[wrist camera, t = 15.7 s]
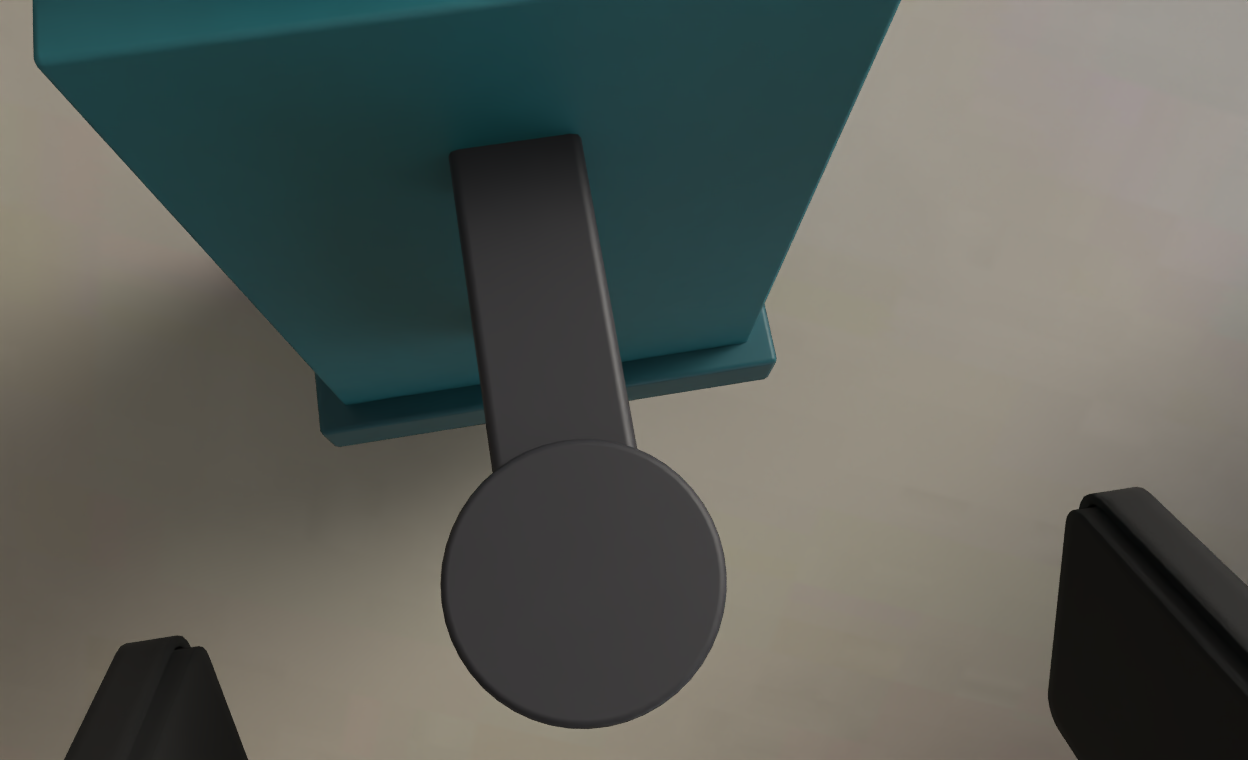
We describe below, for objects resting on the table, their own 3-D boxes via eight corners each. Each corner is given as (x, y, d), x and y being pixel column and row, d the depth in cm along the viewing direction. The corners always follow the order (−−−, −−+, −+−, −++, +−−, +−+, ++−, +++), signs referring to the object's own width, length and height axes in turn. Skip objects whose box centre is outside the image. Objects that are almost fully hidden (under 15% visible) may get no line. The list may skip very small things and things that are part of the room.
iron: (-344, -852, 5) (-592, 1018, 3) (987, -940, 6) (1660, 596, 4) (312, 219, 18) (363, 745, 15) (720, 161, 18) (830, 661, 16)
